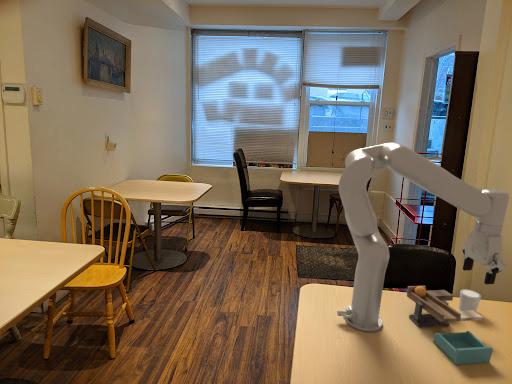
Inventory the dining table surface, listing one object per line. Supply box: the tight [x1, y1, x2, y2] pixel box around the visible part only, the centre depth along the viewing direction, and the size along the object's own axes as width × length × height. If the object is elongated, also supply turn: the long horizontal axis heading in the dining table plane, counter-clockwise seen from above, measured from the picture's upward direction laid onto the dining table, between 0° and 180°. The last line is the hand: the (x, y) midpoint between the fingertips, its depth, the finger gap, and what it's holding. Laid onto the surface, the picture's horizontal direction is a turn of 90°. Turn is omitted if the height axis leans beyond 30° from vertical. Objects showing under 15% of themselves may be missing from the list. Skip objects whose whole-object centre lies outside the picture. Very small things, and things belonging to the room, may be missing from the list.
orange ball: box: [415, 285, 427, 297], centre depth 138 cm, size 4×4×4 cm
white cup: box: [458, 288, 482, 313], centre depth 141 cm, size 7×7×7 cm
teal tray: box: [432, 330, 493, 366], centre depth 116 cm, size 12×11×5 cm
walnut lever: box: [406, 285, 484, 323], centre depth 132 cm, size 16×20×4 cm
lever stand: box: [408, 300, 451, 328], centre depth 132 cm, size 12×6×8 cm, turn 99°
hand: (477, 276), depth 123 cm, fingers open, 9 cm apart
